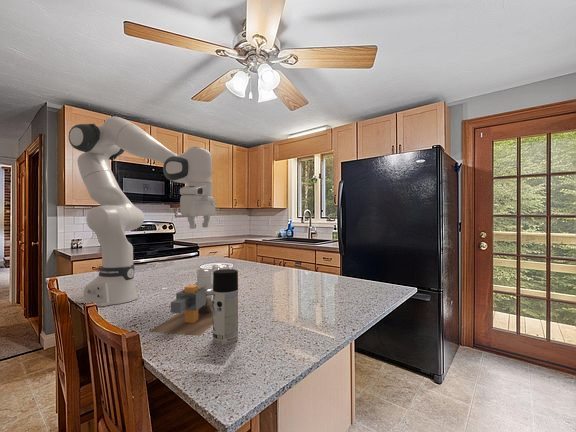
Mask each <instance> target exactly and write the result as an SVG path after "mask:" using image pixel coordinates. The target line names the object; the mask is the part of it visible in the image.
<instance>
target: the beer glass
mask: <svg viewBox="0 0 576 432" xmlns="http://www.w3.org/2000/svg"><path fill="white" fill-rule="evenodd" d="M220 269H230V265H229V264H225V263H223V264H213V265H212V266H211V285H213V272H214V271H216V270H220Z"/></svg>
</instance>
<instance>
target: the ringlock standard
mask: <svg viewBox="0 0 576 432" xmlns="http://www.w3.org/2000/svg"><path fill="white" fill-rule="evenodd" d="M211 276H212V268H198V269H197V270H196V285H198V291H197V292H196V293H185V290H184V289H182V290H180V291H178V292H176V293H175V297H176V299H174V300H173V301H170V313H171V314H178V313H182V312H183V311H185V310H194V311H196V310H198V313H199V314H207V313H210V312H211V311H212V305H213V285H212V277H211Z"/></svg>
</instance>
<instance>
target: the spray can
mask: <svg viewBox="0 0 576 432" xmlns="http://www.w3.org/2000/svg"><path fill="white" fill-rule="evenodd" d="M212 305H213V325H212V342H213V343H214V344H215V345H221V346H222V345H223V346H224V345H231V344H234V343H235V342H237V341H238V339H239V271H238V270H237V269H233V268H229V269H220V270H216V271H214V272H213V295H212Z"/></svg>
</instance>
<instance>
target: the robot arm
mask: <svg viewBox="0 0 576 432" xmlns="http://www.w3.org/2000/svg"><path fill="white" fill-rule="evenodd" d="M68 143H69V144H70V145H71V146H72V148H73V149H75V150H77V151H79V152H82V153H81V154H80V155H78V157H77V161H76V162H77V167H78V171H79V173H80V177H81V179H82V181H83V183H84V185H85V188H86V190H87V192H88V194H89V196H90V198H91V199H92V200H93V201H94V202H95V203H97V204H99V206H95V207H93V208H91V209H90V210H89V211H88V212H87V214H86V218H85V219H86V224H87V227H88V228H89V229H90V230H91V231H93V232H94V234H95V235H96V237H97V239H98V240H99V241H98V242H99V243H100V248H101V258H102V259H101V260H102V261H101V262H102V266H101V267H99V268H96V271H95V272H97V273H98V276H96V277H95V278H94V279H93V280H91V282H89V283H87V284H86V285H85V286H84V289H83V295H82V296H81V297H80V298H77V299H76V301H75V303H76V302H77V304H81V303H84V305H86V304H85V303H89V302H93V303H96V304H97V306H96V307H106V306H111V305H117V304H118V305H119V304H124V303H128V302H132V301H134V300H136V299H138V297H139V296H138V293H137V289H136V286H135V285H136V284H135V283H136V282H135V264H134V246H133V245H132V243H130V241H128V238H127V237H126V233H125V232H130V231H135V230H137V229H138V228H140V227H142V225H143V224H144V221H145V215H144V212H143V211H142V210H141V209H140V208H138V207H137V206H136V205H134V204H133V202H131V201H130V199H129V198H128V197H127V196H126V194H125V193H124V192H123V190H122V189H121V187H120V186H119V183H118V181H117V179H116V177H115V175H114V173H113V171H112V169H111V167H110V164H109V161H114V160H116V159H117V158H118V157H119V156H121V155H122V154H123V153H128V154H130V155H133V156H136V157H139V158H143V159H149V160H152V161H155V162H159V163H160V164H163V167H162V170H163V171H162V172H163V174H164V177H165V178H166V179H167V180H169V181H171V182H175V183H180V184H186V185H185V186H183V187H181V188H180V189H179V195H181V196H180V197H179V198H180V199H179V210H180V211H179V212H180V215H181V216H183V217H187V222H188V224H189V229H190V230H195V229H197V223H195V219H196V217H198V216H199V217H200V216H201V217H203V222H202V223H201V224H202V225H201V227H202V228H203V229H204V228H205V229H207V228H209V222H210V220H211V216H215V215H216V201H215V197H214V195H213V181H212V174H213V159H212V154H211V152H210V151H209V150H208V149H205V148H202V147H199V146H190V147H189V148H188V149H187V150H186V151H183V153H180V154H177V153H176V152H174V151H172V150H171V149H169V148H167V147H166V146H165V145H163V144H162V143H161V142H160V141H158V140H156V138H154V137H153V136H152V135H151V134H150V133H148V132H147V131H145V130H144V129H143V128H141V127H140V126H138V125H136V124H135V123H133V122H131V121H129V120H127V119H125V118H123V117H120V116H111V117H108V118H107V119H106V120H105V121H104V122H103V124H102V125H96V124H95V123H80V124H75V125H74V126H72V127H71V128H70V130H69V132H68Z"/></svg>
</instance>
